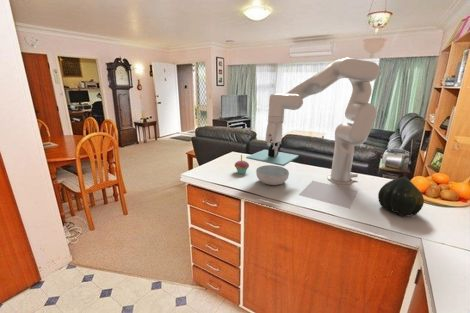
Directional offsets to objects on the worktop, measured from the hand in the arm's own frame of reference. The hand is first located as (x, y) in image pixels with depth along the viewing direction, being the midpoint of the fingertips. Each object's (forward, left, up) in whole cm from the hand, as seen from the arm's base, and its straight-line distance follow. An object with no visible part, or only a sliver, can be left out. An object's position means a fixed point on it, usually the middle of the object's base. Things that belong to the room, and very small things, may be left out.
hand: (273, 155), depth 120 cm
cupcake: (+12, -18, -15) cm, 26 cm away
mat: (-22, +18, -15) cm, 32 cm away
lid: (0, 0, -1) cm, 1 cm away
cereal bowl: (0, 0, -15) cm, 15 cm away
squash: (-41, +38, -15) cm, 58 cm away
